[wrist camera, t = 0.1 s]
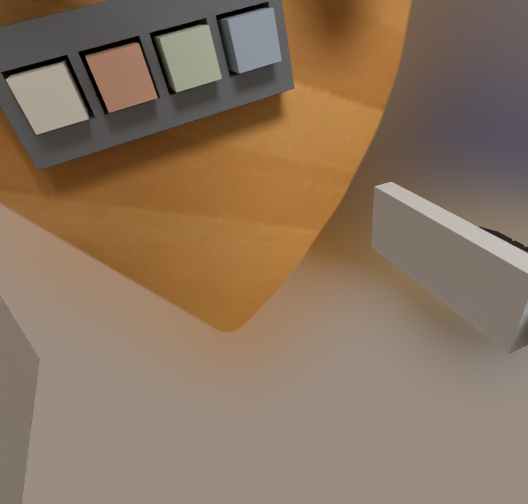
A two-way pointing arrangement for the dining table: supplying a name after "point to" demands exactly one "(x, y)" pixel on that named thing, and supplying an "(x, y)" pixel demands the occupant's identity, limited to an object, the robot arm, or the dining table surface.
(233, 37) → the key slate
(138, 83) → the key terracotta
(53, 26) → the keypad
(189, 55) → the key sage
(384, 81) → the dining table surface
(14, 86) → the key ivory
